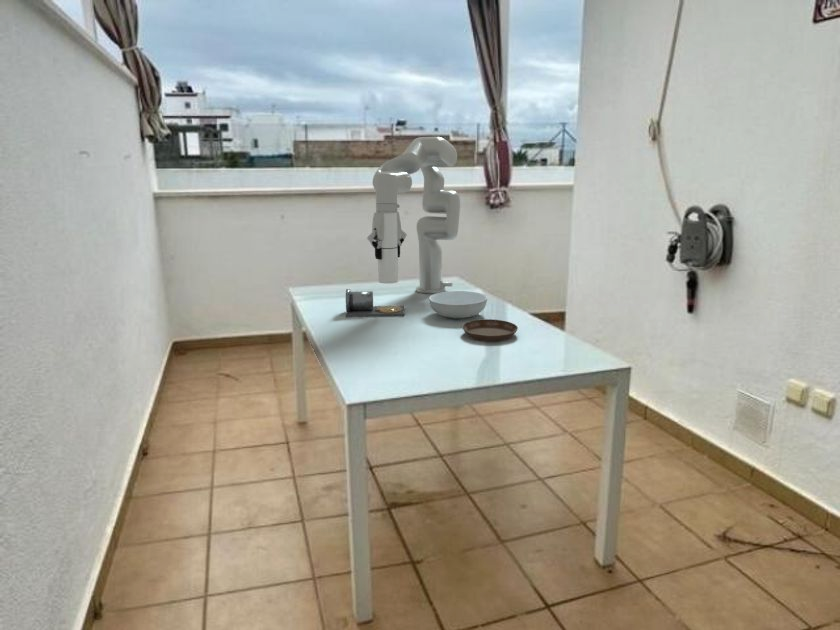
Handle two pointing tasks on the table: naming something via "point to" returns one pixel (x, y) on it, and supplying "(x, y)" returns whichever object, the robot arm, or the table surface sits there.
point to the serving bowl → (458, 303)
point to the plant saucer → (489, 330)
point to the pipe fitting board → (373, 313)
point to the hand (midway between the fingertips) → (387, 257)
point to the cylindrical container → (389, 251)
